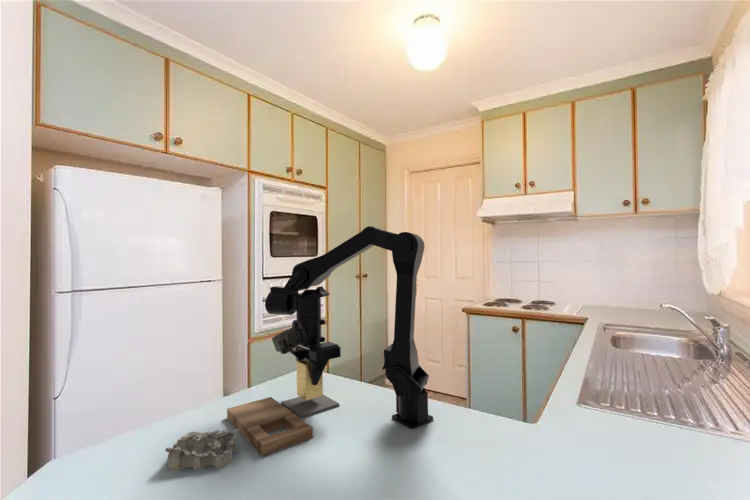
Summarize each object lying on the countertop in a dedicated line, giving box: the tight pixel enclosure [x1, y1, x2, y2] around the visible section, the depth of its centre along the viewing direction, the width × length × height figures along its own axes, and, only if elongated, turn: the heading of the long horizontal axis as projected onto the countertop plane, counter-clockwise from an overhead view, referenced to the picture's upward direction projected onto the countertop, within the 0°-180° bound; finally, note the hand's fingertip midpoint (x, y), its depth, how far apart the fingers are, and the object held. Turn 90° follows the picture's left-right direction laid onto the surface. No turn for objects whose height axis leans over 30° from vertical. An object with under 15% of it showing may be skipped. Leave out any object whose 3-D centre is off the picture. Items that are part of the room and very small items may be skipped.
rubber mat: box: [280, 394, 340, 419], centre depth 85 cm, size 10×10×1 cm
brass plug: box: [296, 359, 324, 400], centre depth 85 cm, size 4×4×8 cm
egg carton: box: [165, 428, 239, 473], centre depth 63 cm, size 11×8×4 cm
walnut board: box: [226, 396, 314, 457], centre depth 74 cm, size 20×10×2 cm, turn 39°
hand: (309, 382), depth 85 cm, fingers closed on brass plug, 4 cm apart
